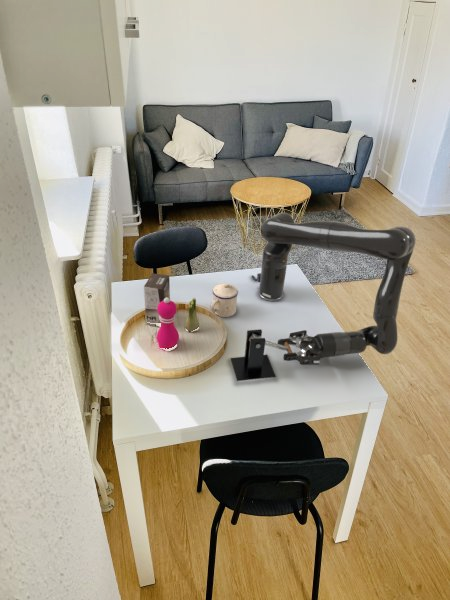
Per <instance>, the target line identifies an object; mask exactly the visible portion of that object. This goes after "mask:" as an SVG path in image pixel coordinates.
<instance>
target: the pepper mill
mask: <svg viewBox="0 0 450 600" xmlns="http://www.w3.org/2000/svg"><path fill="white" fill-rule="evenodd" d="M177 311H178V307H177V304H176V303H175V302H174V301H173V300H171V298H170V299H169V298H167V297H166V298H165V299H164V300H163V301H161V302H160V303H159V304H158V307H157V312H158V314H159V320H160V321H161V327H159V329H158V330H157V333H156V342H157V344H158V345H159V346H158V348H159V347H160V348H165V349H166V348H167V349H169V348H172V347H174V346H175V345H176V344H177V343H179V341H180V334H179V331H178V329H177V328H176V326H175V321H176V314H177ZM160 348H159V349H160Z"/></svg>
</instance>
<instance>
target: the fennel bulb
mask: <svg viewBox="0 0 450 600" xmlns="http://www.w3.org/2000/svg"><path fill="white" fill-rule="evenodd" d="M196 307H197V299H196V297H193V298H192V299H191V300H190V301H189V305H188V306H187V309H188V315H187V317H186V320H185V323H184V329H185V328H186V329H187V330H188V331H193V330H195V329H197V328H198V327H199V328H200V321H199V318H198V315H197V312H196V310H197V309H196Z"/></svg>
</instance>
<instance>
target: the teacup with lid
mask: <svg viewBox="0 0 450 600" xmlns="http://www.w3.org/2000/svg"><path fill="white" fill-rule="evenodd" d="M238 294H239V290H238V288H237V287H236V286H235V285H234V284H231V283H228V282H224V283H223V282H222V283H219V284H216V285H215V286H214V287H213V289H212V302H211V304H210V311H211V312H212V313H214V312H216V313H217V314H218V315H219V316H218V315H217V316H218V317H220V318H229V317H232V316H234V315H235V313H236V312H237V304H238V303H237V302H238Z"/></svg>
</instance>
